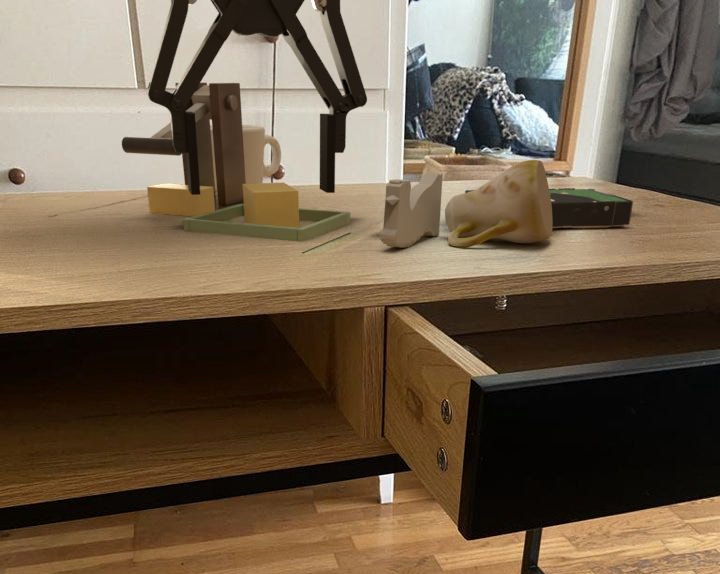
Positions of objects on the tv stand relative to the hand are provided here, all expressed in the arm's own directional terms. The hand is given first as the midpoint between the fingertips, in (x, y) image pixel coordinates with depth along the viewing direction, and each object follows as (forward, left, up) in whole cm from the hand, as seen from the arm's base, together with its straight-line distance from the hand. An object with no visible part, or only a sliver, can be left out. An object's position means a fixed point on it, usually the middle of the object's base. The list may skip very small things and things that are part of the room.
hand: (262, 191), depth 70 cm
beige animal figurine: (+13, +3, -4) cm, 15 cm away
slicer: (-12, +10, -4) cm, 16 cm away
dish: (0, 0, -4) cm, 4 cm away
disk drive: (+22, +20, -4) cm, 30 cm away
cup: (-16, +23, -4) cm, 28 cm away
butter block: (-12, +4, -4) cm, 13 cm away
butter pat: (+1, 0, -4) cm, 4 cm away
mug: (+20, +7, -4) cm, 22 cm away
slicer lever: (-12, +6, +4) cm, 13 cm away
